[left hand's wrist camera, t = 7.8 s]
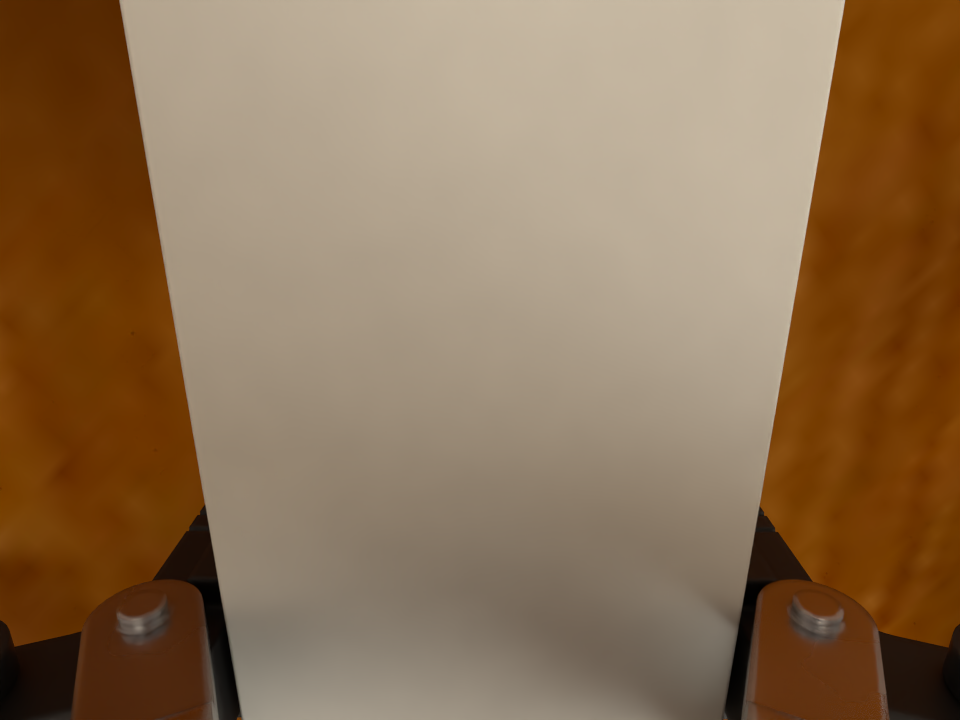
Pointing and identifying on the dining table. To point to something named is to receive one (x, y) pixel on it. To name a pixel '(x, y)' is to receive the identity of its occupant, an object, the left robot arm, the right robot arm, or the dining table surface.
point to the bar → (482, 335)
